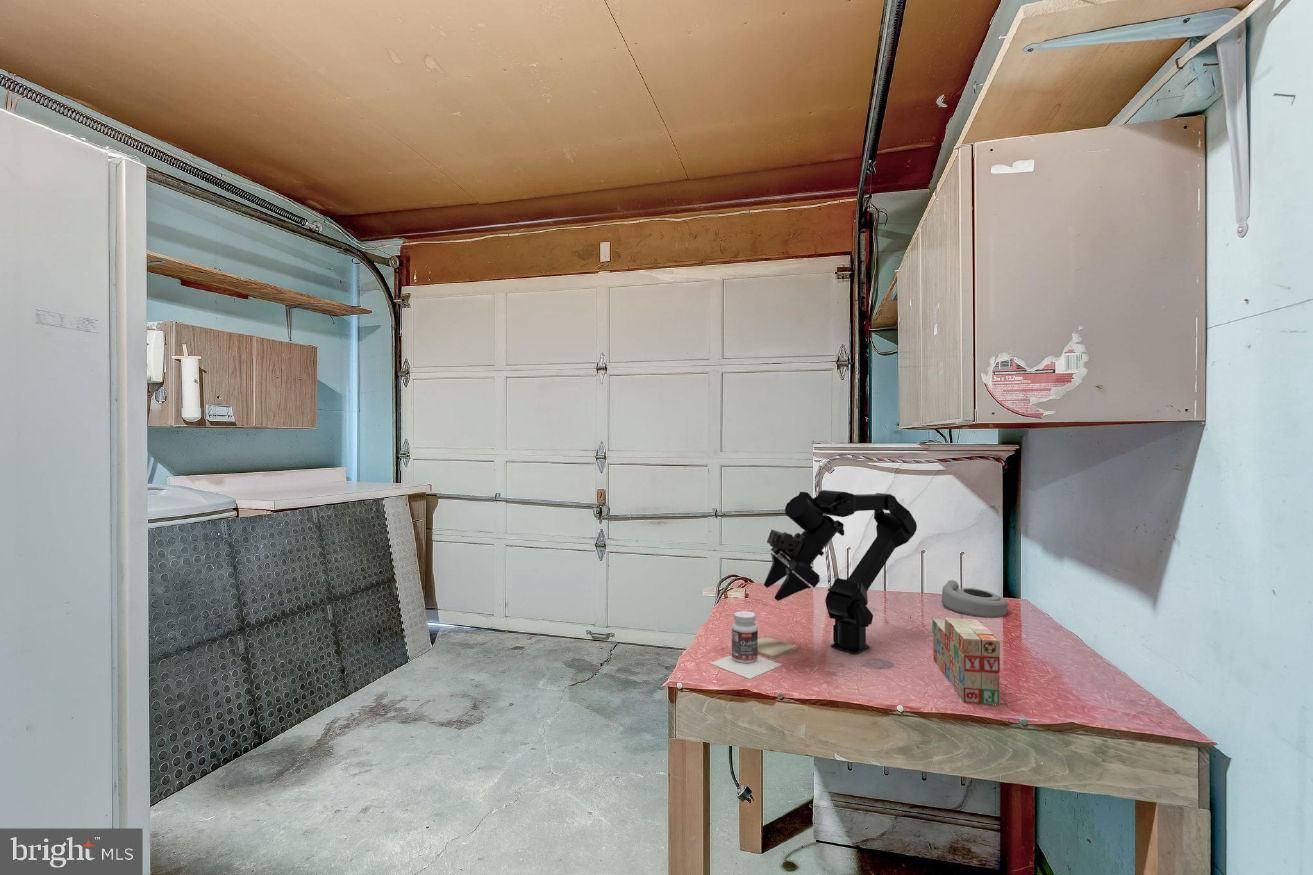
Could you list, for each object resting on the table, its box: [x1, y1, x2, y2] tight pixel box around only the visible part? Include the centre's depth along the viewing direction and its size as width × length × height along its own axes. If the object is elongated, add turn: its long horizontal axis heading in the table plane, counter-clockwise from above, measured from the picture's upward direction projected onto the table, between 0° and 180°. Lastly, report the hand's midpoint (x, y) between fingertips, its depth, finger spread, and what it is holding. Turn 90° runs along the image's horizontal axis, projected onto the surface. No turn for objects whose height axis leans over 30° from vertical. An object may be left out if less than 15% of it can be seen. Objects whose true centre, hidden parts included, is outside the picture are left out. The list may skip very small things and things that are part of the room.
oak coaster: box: [758, 636, 797, 659], centre depth 134 cm, size 9×9×1 cm
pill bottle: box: [731, 610, 759, 663], centre depth 127 cm, size 6×6×10 cm
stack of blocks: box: [931, 617, 1001, 706], centre depth 116 cm, size 21×6×12 cm, turn 168°
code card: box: [709, 654, 783, 680], centre depth 124 cm, size 11×11×1 cm
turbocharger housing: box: [941, 579, 1009, 618], centre depth 165 cm, size 17×6×15 cm
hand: (770, 592), depth 129 cm, fingers open, 9 cm apart
